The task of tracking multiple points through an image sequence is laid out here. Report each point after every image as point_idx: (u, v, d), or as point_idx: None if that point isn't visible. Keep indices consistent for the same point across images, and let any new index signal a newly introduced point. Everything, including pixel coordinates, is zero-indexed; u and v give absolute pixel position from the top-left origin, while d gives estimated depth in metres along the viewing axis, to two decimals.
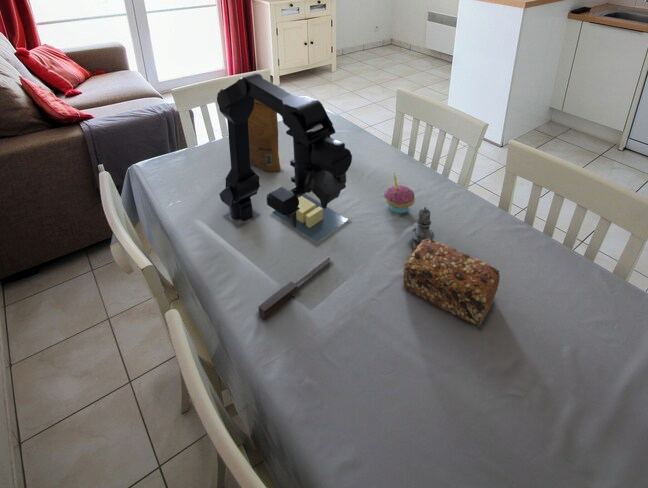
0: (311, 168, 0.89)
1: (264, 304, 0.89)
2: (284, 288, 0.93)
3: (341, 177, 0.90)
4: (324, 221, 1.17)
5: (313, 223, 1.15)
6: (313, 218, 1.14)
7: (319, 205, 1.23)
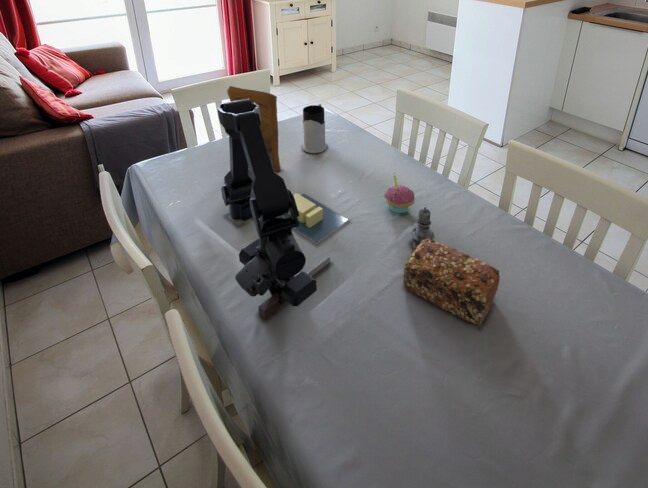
0: (259, 250, 0.85)
1: (264, 304, 0.89)
2: None
3: (254, 282, 0.81)
4: (324, 221, 1.17)
5: (313, 223, 1.15)
6: (313, 218, 1.14)
7: (319, 205, 1.23)
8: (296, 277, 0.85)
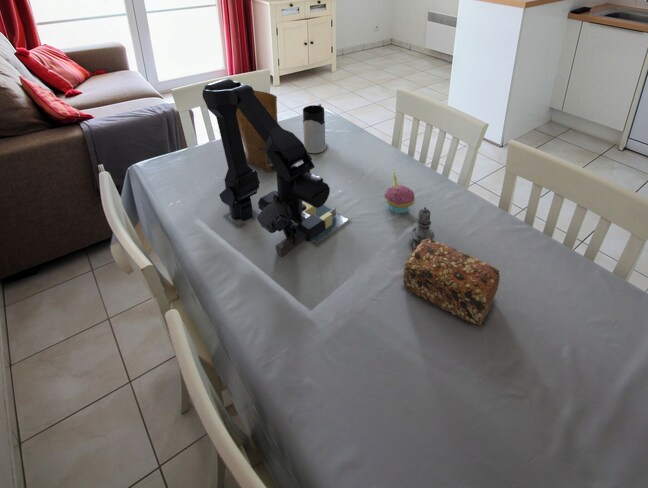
0: (277, 195, 1.00)
1: (280, 243, 1.04)
2: None
3: (273, 220, 0.96)
4: None
5: None
6: None
7: None
8: (308, 218, 1.00)
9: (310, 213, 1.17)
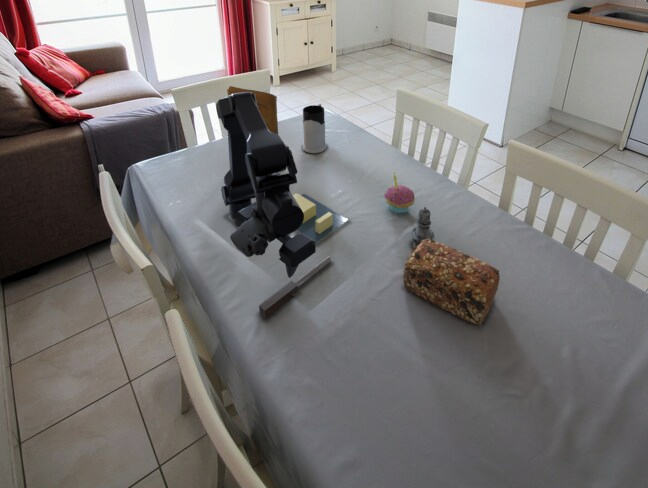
0: (256, 209, 0.82)
1: (265, 303, 0.90)
2: (285, 287, 0.94)
3: (250, 241, 0.77)
4: None
5: (323, 229, 1.13)
6: (323, 224, 1.12)
7: (319, 205, 1.23)
8: (294, 238, 0.81)
9: (310, 213, 1.17)
